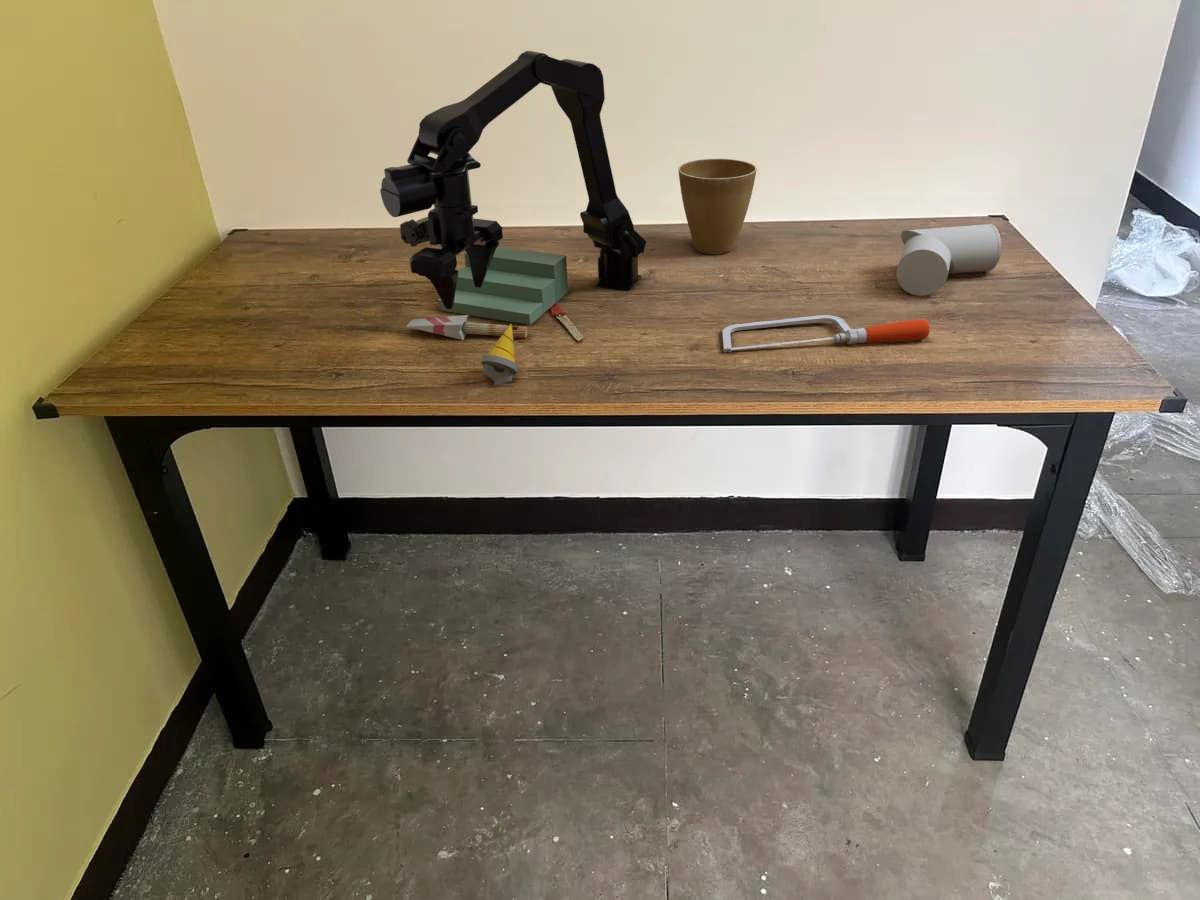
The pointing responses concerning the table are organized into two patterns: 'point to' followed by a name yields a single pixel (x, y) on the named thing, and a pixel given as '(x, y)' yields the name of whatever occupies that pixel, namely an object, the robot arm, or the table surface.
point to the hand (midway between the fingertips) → (464, 297)
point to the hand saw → (852, 336)
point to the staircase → (512, 286)
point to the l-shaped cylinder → (945, 255)
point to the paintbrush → (462, 327)
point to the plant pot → (716, 201)
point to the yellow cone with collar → (501, 359)
